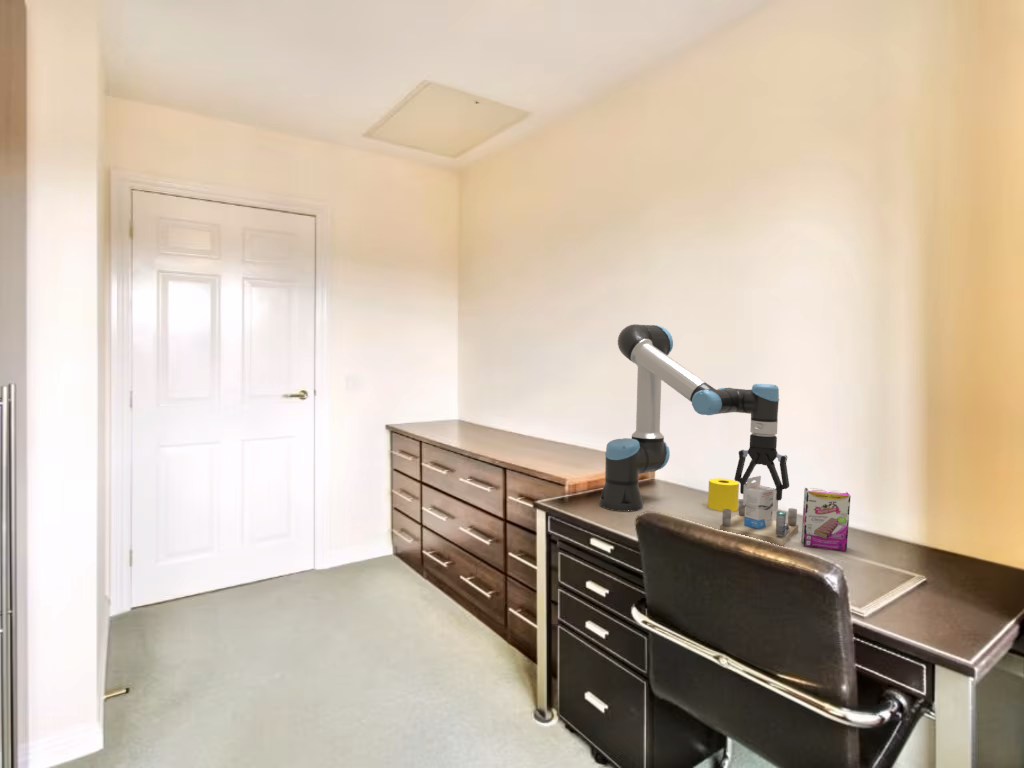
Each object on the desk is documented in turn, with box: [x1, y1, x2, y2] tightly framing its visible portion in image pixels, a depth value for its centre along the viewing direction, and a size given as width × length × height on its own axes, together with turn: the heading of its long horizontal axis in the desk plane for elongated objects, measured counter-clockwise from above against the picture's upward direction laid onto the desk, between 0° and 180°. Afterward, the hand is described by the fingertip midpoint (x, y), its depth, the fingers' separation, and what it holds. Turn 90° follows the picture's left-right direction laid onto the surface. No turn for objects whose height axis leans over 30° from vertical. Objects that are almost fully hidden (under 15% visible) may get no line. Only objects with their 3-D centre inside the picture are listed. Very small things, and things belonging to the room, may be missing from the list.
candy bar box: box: [800, 487, 852, 552], centre depth 160 cm, size 11×5×16 cm, turn 71°
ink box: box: [744, 475, 775, 529], centre depth 172 cm, size 8×5×15 cm, turn 128°
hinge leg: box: [775, 510, 790, 536], centre depth 165 cm, size 10×2×7 cm, turn 143°
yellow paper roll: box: [707, 477, 740, 513], centre depth 199 cm, size 10×10×9 cm
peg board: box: [719, 498, 799, 547], centre depth 173 cm, size 18×18×7 cm
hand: (760, 507), depth 172 cm, fingers open, 8 cm apart
